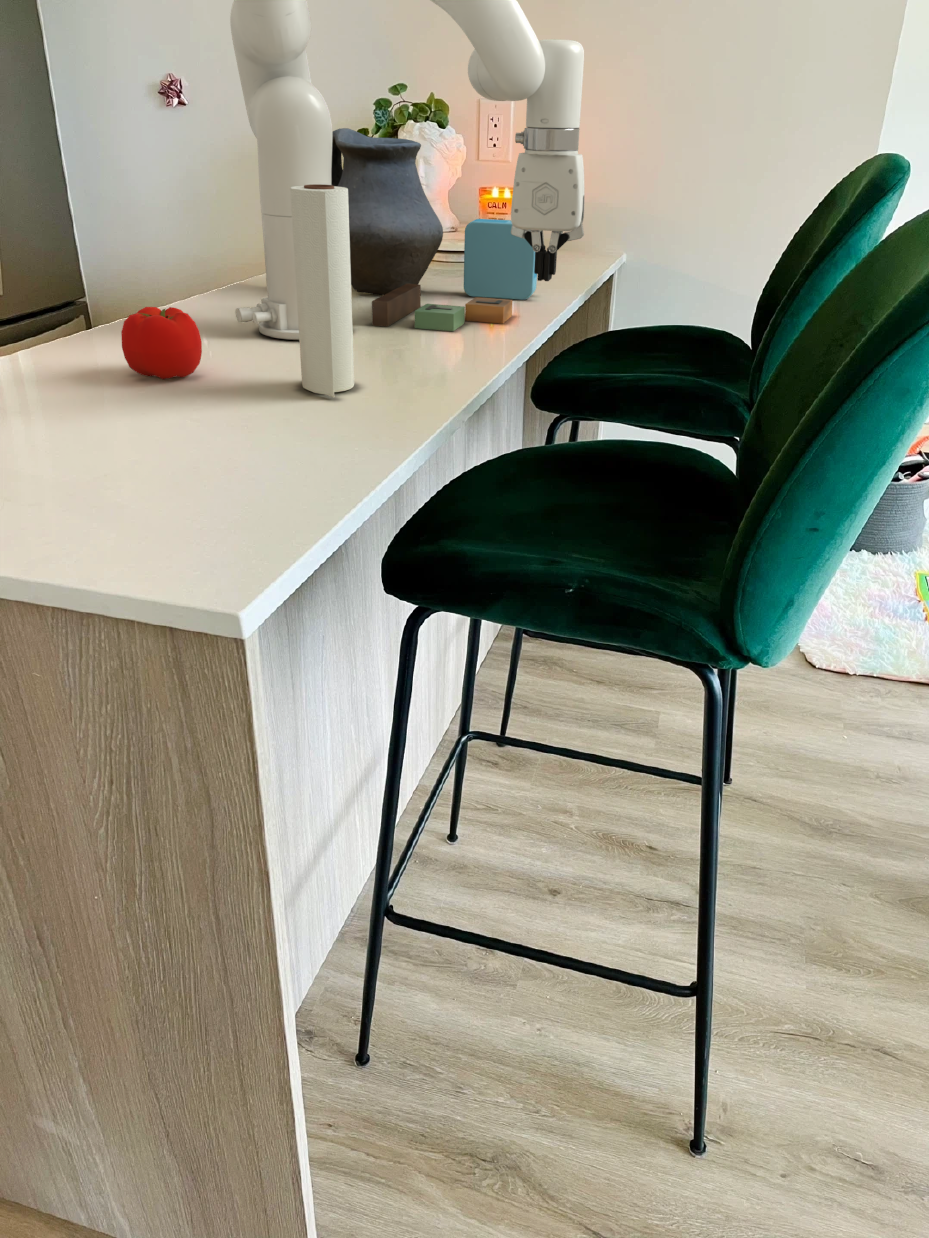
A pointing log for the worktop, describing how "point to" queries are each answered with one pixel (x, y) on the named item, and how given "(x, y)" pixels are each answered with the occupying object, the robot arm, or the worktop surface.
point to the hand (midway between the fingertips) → (544, 279)
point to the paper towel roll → (323, 287)
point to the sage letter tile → (439, 317)
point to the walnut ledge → (396, 304)
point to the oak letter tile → (488, 310)
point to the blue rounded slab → (497, 261)
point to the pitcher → (384, 211)
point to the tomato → (161, 342)
